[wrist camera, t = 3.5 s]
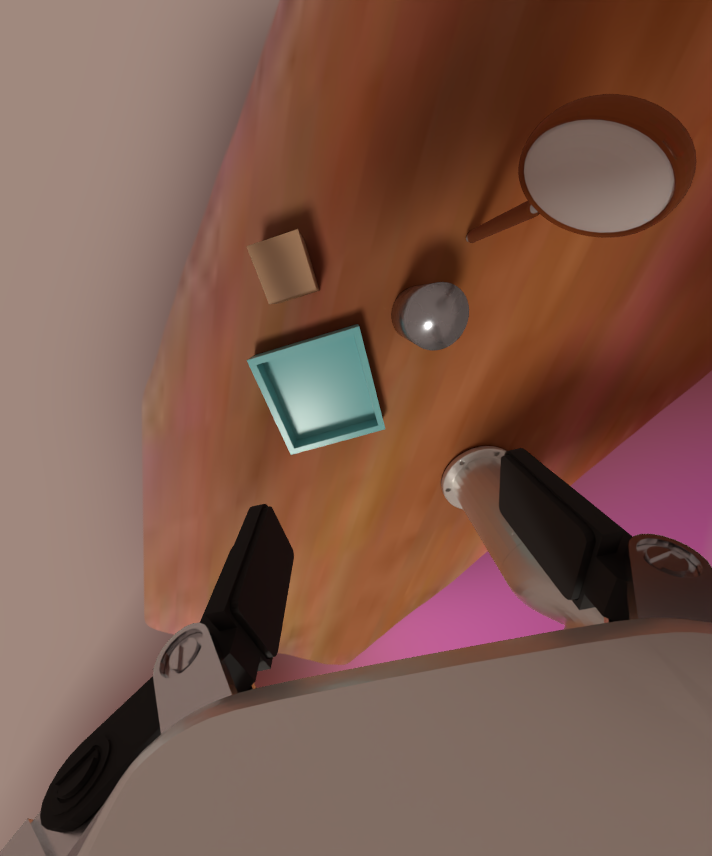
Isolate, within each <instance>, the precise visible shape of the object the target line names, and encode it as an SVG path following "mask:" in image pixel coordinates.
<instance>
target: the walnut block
mask: <svg viewBox="0 0 712 856" xmlns="http://www.w3.org/2000/svg"><path fill="white" fill-rule="evenodd" d="M247 249H248V252H249V254H250V257H251V259H252V262H253V264H254V267H255V270H256V272H257V275H258V277H259V280H260V282H261V285H262V287H263V290H264V293H265V295H266V298H267V300H268V303H269V304H277V303H282V302H285V301H288V300H291V299H294V298H297V297H301V296H304V295H307V294H310V293H313V292H316V291H319V287H318V284H317V280H316V277H315V274H314V271H313V267H312V264H311V261H310V257H309V254H308V251H307V247H306V244H305V241H304V239H303V237H302V235H301V234H300V232H299V230H298V229H296V230H294V231H291V232H288V233H285V234H282V235H279V236H276V237H273V238H270V239H267V240H264V241H261V242H258V243H255V244H252V245H249V246H247Z"/></svg>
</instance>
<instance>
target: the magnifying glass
mask: <svg viewBox="0 0 712 856" xmlns="http://www.w3.org/2000/svg"><path fill="white" fill-rule="evenodd" d="M695 169H696V151H695V148H694V144H693V141H692V139H691V137H690V135H689V133H688V131H687V130H686V128H685V127H684V126H683V125H682V124H681V122H680V121H679V120H678V119H677V118H676V117H674V116H673V115H672V114H671V113H670V112H668V111H667V110H665V109H663V108H662V107H660V106H658V105H656V104H654V103H652V102H649V101H647V100H644V99H641V98H637V97H633V96H627V95H619V94H603V95H595V96H589V97H585V98H581V99H578V100H575V101H573V102H570V103H568V104H566V105H564V106H562V107H560V108H559V109H557V110H555V111H554V112H553V113H551V114H550V115H549V116H548V117H546V118H545V119H544V120H543V121H542V122H541V123H540V124H539V125H538V126H537V127H536V129H535V130H534V131H533V133H532V134H531V135H530V137H529V139H528V141H527V142H526V144H525V146H524V148H523V151H522V154H521V157H520V162H519V181H520V184H521V188H522V190H523V192H524V194H525V196H526V198H527V200H528V201H526V202H524V203H522V204H521V205H519V206H517V207H515V208H513V209H511V210H509V211H507V212H505V213H503V214H501V215H499V216H497V217H495V218H493V219H492V220H490V221H488V222H486V223H484V224H482V225H480V226H478V227H476V228H474V229H472V230H471V231H469V233H468V235H467V237H466V240H467V241H468V242H470V243H473V242H476V241H478V240H481V239H483V238H485V237H488V236H490V235H493V234H495V233H497V232H500V231H502V230H505V229H507V228H509V227H512V226H514V225H517V224H519V223H521V222H524V221H526V220H529V219H531V218H533V217H536V216H538V215H539V214H541V215H542V216H543V217H544V218H546V219H547V220H548V221H550V222H552V223H553V224H555V225H557V226H559V227H561V228H563V229H565V230H568V231H571V232H574V233H577V234H581V235H586V236H592V237H620V236H626V235H630V234H634V233H637V232H640V231H643V230H645V229H647V228H649V227H651V226H653V225H655V224H656V223H658V222H659V221H661V220H662V219H663V218H665V217H666V216H667V215H668V214H669V213H670V212H671V211H672V210H673V209H674V208H676V207H677V205H678V204H679V203H680V201H681V200H682V199H683V198H684V196H685V195H686V193H687V191H688V189H689V188H690V186H691V183H692V180H693V177H694V174H695Z"/></svg>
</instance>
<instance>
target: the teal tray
mask: <svg viewBox="0 0 712 856" xmlns="http://www.w3.org/2000/svg"><path fill="white" fill-rule="evenodd" d="M247 362H248V364H249V366H250V368H251V370H252V372H253V375H254V377H255V379H256V381H257V383H258V385H259V387H260V390H261V392H262V394H263V396H264V398H265V400H266V402H267V405H268V407H269V409H270V411H271V413H272V415H273V417H274V420H275V422H276V424H277V426H278V428H279V430H280V432H281V435H282V437H283V439H284V441H285V443H286V445H287V448H288V450H289V452H290V454H291V455H292V454H296V453H300V452H303V451H307V450H311V449H314V448H318V447H322V446H325V445H329V444H333V443H336V442H340V441H344V440H347V439H351V438H355V437H358V436H362V435H366V434H369V433H373V432H377V431H380V430H384V429H385V426H384V422H383V418H382V414H381V410H380V406H379V402H378V398H377V394H376V390H375V386H374V383H373V379H372V375H371V371H370V367H369V363H368V359H367V355H366V351H365V347H364V343H363V339H362V335H361V331H360V327H359V325H358V324H356V325H353V326H349V327H346V328H343V329H339V330H336V331H333V332H330V333H326V334H323V335H320V336H316V337H313V338H310V339H306V340H303V341H300V342H297V343H293V344H290V345H287V346H283V347H280V348H277V349H273V350H270V351H267V352H264V353H260V354H257V355H254V356H253V357H251V358H250V359H248V360H247Z"/></svg>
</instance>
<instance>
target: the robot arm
mask: <svg viewBox="0 0 712 856" xmlns="http://www.w3.org/2000/svg"><path fill="white" fill-rule="evenodd" d="M441 486H442V491H443V494H444V495H445V497H446V499H447V500H448V501H449V502H450V503H451V504H452V505H453V506H455V507H457V508H460V509H464V511H465V513H466V515H467V516H468V518H469V520H470V521H471V523H472V525H473V526H474V528H475V530H476V531H477V533H478V535H479V536H480V538H481V540H482V541H483V543H484V545H485V547H486V548H487V550H488V552H489V553H490V555H491V557H492V558H493V560H494V562H495V563H496V565H497V567H498V568H499V570H500V572H501V573H502V575H503V577H504V578H505V580H506V582H507V584H508V585H509V587H510V588H511V590H512V591H513V592H514V593H515V595H516V596H517V597H518V598H519V599H520V600H521V601H523V602H524V603H525V604H526V605H528V606H529V607H530V608H532V609H533V610H535V611H537V612H539V613H541V614H543V615H545V616H547V617H549V618H551V619H553V620H555V621H558V622H559V623H562V624H564V625H565V628H564V630H559V631H553V632H548V633H542V634H537V635H531V636H526V637H520V638H515V639H509V640H503V641H498V642H493V643H487V644H482V645H476V646H471V647H466V648H460V649H455V650H449V651H444V652H438V653H433V654H428V655H422V656H417V657H412V658H406V659H401V660H396V661H390V662H385V663H380V664H375V665H370V666H364V667H359V668H354V669H349V670H343V671H338V672H333V673H328V674H323V675H317V676H312V677H307V678H302V679H298V680H293V681H288V682H284V683H279V684H274V685H270V686H265V687H261V688H256V687H255V684H254V682H255V680H256V675H257V671H262V670H266V669H270V668H271V664H272V659H273V657H275V656H276V655H277V652H278V648H279V642H280V636H281V630H282V624H283V618H284V613H285V607H286V601H287V595H288V589H289V583H290V577H291V571H292V565H293V559H294V553H293V549H292V547H291V545H290V543H289V541H288V539H287V537H286V535H285V533H284V531H283V529H282V527H281V525H280V523H279V521H278V519H277V517H276V515H275V513H274V511H273V509H272V507H268V506H267V505H266V504H262V505H257V506H252V507H250V509H249V511H248V513H247V515H246V518H245V520H244V522H243V525H242V527H241V530H240V532H239V534H238V537H237V539H236V542H235V544H234V546H233V547H232V549H231V551H230V553H229V555H228V557H227V560H226V562H225V565H224V567H223V569H222V572H221V574H220V576H219V579H218V581H217V583H216V586H215V588H214V590H213V593H212V595H211V598H210V600H209V602H208V605H207V607H206V609H205V612H204V614H203V616H202V619H201V621H200V623H193V624H190V625H188V626H186V627H184V628H183V629H181V630H180V631H178V632H177V633H176V634H175V635H174V636H173V637H172V638H171V639H170V640H169V641H168V642H167V643H166V645H165V646H164V647H163V649H162V650H161V652H160V654H159V656H158V657H157V659H156V663H155V665H154V668H153V677H152V678H150V680H148V681H147V682H146V683H145V684H144V685H143V686H142V687H141V688H140V689H139V690H138V691H137V692H136V693H135V694H134V695H132V696H131V697H130V698H129V699H128V700H127V701H126V702H125V703H124V704H123V705H122V706H121V707H120V708H119V709H117V710H116V711H115V712H114V713H113V714H112V715H111V716H110V717H109V718H108V719H107V720H106V721H105V722H104V723H103V724H101V726H99V727H98V728H97V729H96V730H95V731H94V732H93V733H92V734H91V735H90V736H89V737H88V738H87V739H86V740H84V742H82V743H81V744H80V745H79V746H78V748H77V749H76V750H75V751H74V752H73V753H72V754H71V755H70V756H69V757H68V759H67V760H66V761H65V763H64V764H63V765H62V767H61V768H60V769H59V771H58V772H57V774H56V776H55V778H54V779H53V781H52V783H51V784H50V786H49V789H48V791H47V793H46V796H45V798H44V800H43V803H42V808H41V811H40V812H39V814H38V815H37V816H36V817H35V819H34V820H32V819H27V820H26V821H25V822H24V824H23V825H22V826H21V827H20V829H19V830H18V831H17V832H16V833H15V834H14V836H13V837H12V839H10V841H9V842H8V843H7V844H6V845H5V847H4V848H3V849H2V850H1V851H0V856H712V567H711V566H710V564H709V563H708V561H707V560H706V559H705V558H704V557H703V556H701V555H700V554H699V553H698V552H696V551H695V550H693V549H692V548H690V547H688V546H687V545H685V544H683V543H681V542H678V541H676V540H674V539H671V538H668V537H665V536H660V535H655V534H639V535H636V536H633V537H632V536H631V535H630V534H629V533H627V532H626V531H625V530H624V529H622V528H621V527H620V526H619V525H617V524H616V523H615V522H614V521H612V520H611V519H610V518H609V517H608V516H606V515H605V514H604V513H603V512H601V511H600V510H599V509H598V508H597V507H595V506H594V505H593V504H592V503H590V502H589V501H588V500H587V499H585V498H584V497H583V496H582V495H580V494H579V493H578V492H577V491H576V490H574V489H573V488H572V487H571V486H569V485H568V484H567V483H566V482H564V481H563V480H562V479H560V478H559V477H558V476H557V475H555V474H554V473H553V472H552V471H551V470H549V469H548V468H547V467H546V466H544V465H543V464H542V463H541V462H539V461H538V460H537V459H536V458H535V457H533V456H532V455H531V454H530V453H528V452H527V451H526V450H525V449H523V448H519V449H515V450H510V451H506V450H504V449H502V448H499V447H495V446H482V447H477V448H473V449H470V450H468V451H466V452H464V453H462V454H461V455H459V456H458V457H456V458H455V459H454V460H453V461H452V462H451V463H450V464H449V465H448V467H447V468H446V470H445V472H444V474H443V477H442V482H441Z"/></svg>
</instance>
